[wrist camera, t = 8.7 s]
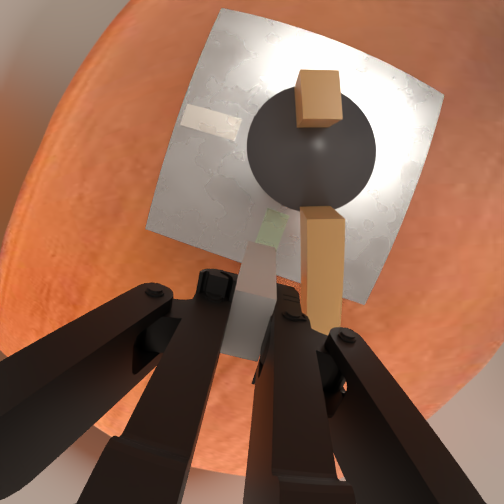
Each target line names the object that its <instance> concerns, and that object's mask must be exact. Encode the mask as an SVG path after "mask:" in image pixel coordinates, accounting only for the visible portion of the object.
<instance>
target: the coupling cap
mask: <svg viewBox="0 0 504 504" xmlns="http://www.w3.org/2000/svg"><path fill="white" fill-rule="evenodd" d="M247 156H248V161H249V165H250V168H251V171H252V173H253V175H254V177H255V179H256V181H257V182H258V184H259V185H260V186H261V188H262V189H263V190H264V191H265V192H266V193H267V194H268V195H269V196H270V197H271V198H272V199H274V200H275V201H276V202H278V203H280V204H281V205H283V206H285V207H288V208H290V209H293V210H296V211H300V238H301V310H302V313H304V314H305V315H306V316H308V318H309V320H310V324H311V328H312V329H314V330H316V331H318V332H320V333H323V334H325V335H328V334H329V332H330V330H331V329H332V328H334V327H340V324H341V311H342V296H343V277H344V252H345V218H344V217H343V216H341V215H340V214H339V213H338V212H337V211H336V210H335V209H337V208H340V207H342V206H344V205H346V204H347V203H349V202H350V201H352V200H353V199H354V198H355V197H357V196H358V195H359V194H360V193H361V191H362V190H363V189H364V188H365V186H366V185H367V183H368V181H369V180H370V177H371V175H372V173H373V170H374V166H375V161H376V140H375V136H374V132H373V129H372V127H371V124H370V122H369V120H368V118H367V117H366V115H365V114H364V112H363V111H362V110H361V109H360V107H359V106H358V105H357V104H356V103H355V102H354V101H352V100H351V99H350V98H349V97H347V96H346V95H344V94H342V93H341V88H340V77H339V70H315V69H300V71H299V74H298V77H297V81H296V84H295V86H294V87H291V88H288V89H285V90H283V91H281V92H279V93H277V94H275V95H274V96H272V97H271V98H270V99H268V100H267V101H266V102H265V103H264V104H263V105H262V106H261V108H260V109H259V110H258V112H257V113H256V115H255V116H254V118H253V120H252V123H251V125H250V128H249V132H248V137H247Z"/></svg>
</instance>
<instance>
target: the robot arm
mask: <svg viewBox="0 0 504 504" xmlns="http://www.w3.org/2000/svg"><path fill="white" fill-rule="evenodd" d="M220 353H223V354H227V355H231V356H235V357H239V358H244V359H248V360H252V361H257V362H258V358H259V355H260V359H259V363H258V366H257V369H256V372H255V375H254V378H253V381H252V384H255V390H254V400H253V410H252V421H251V431H250V441H249V451H248V460H247V470H246V479H245V489H244V498H243V504H486V503H485V502H484V500H483V499H482V497H481V496H480V495H479V493H478V491H477V490H476V489H475V487H474V486H473V484H472V483H471V481H470V480H469V479H468V477H467V476H466V474H465V473H464V472H463V470H462V469H461V467H460V466H459V465H458V463H457V462H456V461H455V459H454V458H453V456H452V455H451V454H450V452H449V451H448V450H447V448H446V447H445V445H444V444H443V443H442V442H441V440H440V439H439V437H438V436H437V434H436V433H435V432H434V431H433V429H432V428H431V427H430V425H429V424H428V422H427V421H426V420H425V418H424V417H423V416H422V414H421V413H420V412H419V410H418V409H417V408H416V406H415V405H414V404H413V403H412V401H411V400H410V399H409V397H408V396H407V395H406V393H405V392H404V391H403V389H402V388H401V387H400V386H399V384H398V383H397V382H396V380H395V379H394V378H393V376H392V375H391V374H390V373H389V371H388V370H387V369H386V367H385V366H384V365H383V364H382V362H381V361H380V360H379V359H378V357H377V356H376V355H375V353H374V352H373V351H372V350H371V348H370V347H369V346H368V345H367V343H366V342H365V341H364V340H363V338H362V337H361V336H360V335H359V334H357V333H356V332H354V331H353V330H351V329H348V328H342V327H334V328H332V329H331V330H330V332H329V334H328V335H325V334H323V333H320V332H318V331H316V330H314V329H312V328H311V324H310V320H309V318H308V316H306V315H305V314H304V313H302V310H301V304H300V299H299V293H298V292H297V291H296V290H295V288H294V287H290V286H286V285H282V284H278V283H276V248H275V247H271V246H267V245H263V244H259V243H255V242H251V241H248V244H247V247H246V251H245V254H244V257H243V261H242V264H241V268H240V271H239V275H238V274H234V273H230V272H226V271H223V270H218V269H204V270H202V271H200V274H199V279H198V284H197V290H196V294H195V295H194V297H193V299H189V300H179V299H173V292H172V290H171V289H170V288H168V287H166V286H164V285H161V284H159V283H144V284H141V285H139V286H137V287H135V288H133V289H131V290H129V291H127V292H125V293H123V294H122V295H120V296H118V297H116V298H114V299H112V300H110V301H109V302H107V303H105V304H103V305H101V306H99V307H97V308H96V309H94V310H92V311H90V312H88V313H86V314H85V315H83V316H81V317H79V318H77V319H75V320H74V321H72V322H70V323H68V324H66V325H64V326H63V327H61V328H59V329H57V330H55V331H54V332H52V333H50V334H48V335H46V336H45V337H43V338H41V339H39V340H38V341H36V342H34V343H32V344H30V345H29V346H27V347H25V348H23V349H22V350H20V351H18V352H16V353H14V354H13V355H11V356H9V357H7V358H6V359H4V360H3V361H1V362H0V500H2V499H5V498H6V497H8V496H10V495H12V494H13V493H15V492H17V491H19V490H20V489H22V488H23V487H24V486H25V485H27V484H28V483H29V482H31V481H32V480H33V479H34V478H35V477H36V476H37V475H39V473H41V472H42V471H43V470H44V469H45V468H46V467H47V466H49V465H50V464H51V463H52V462H53V461H54V460H55V459H56V458H57V457H59V456H60V455H61V454H62V453H63V452H64V451H65V450H66V449H67V448H68V447H69V446H70V445H72V444H73V443H74V442H75V441H76V440H77V439H78V438H79V437H80V436H82V435H83V434H84V433H85V432H86V431H87V430H88V429H89V428H90V427H91V426H92V425H94V424H95V423H96V422H97V421H98V420H99V419H100V418H101V417H102V416H103V415H104V414H105V413H107V412H108V411H109V410H110V409H111V408H112V407H113V406H114V405H115V404H116V403H117V402H118V401H119V400H120V399H122V398H123V397H124V396H125V395H126V394H127V393H128V392H129V391H130V390H131V389H132V388H133V387H134V386H135V385H137V384H138V383H139V382H140V381H141V380H142V379H143V378H144V377H145V376H146V375H147V374H148V373H149V372H150V371H151V370H152V369H154V368H155V367H156V366H157V367H156V369H155V371H154V372H153V374H152V376H151V378H150V380H149V382H148V384H147V386H146V388H145V390H144V392H143V394H142V396H141V398H140V400H139V402H138V404H137V406H136V408H135V410H134V412H133V413H132V415H131V417H130V419H129V421H128V423H127V425H126V427H125V429H124V431H123V433H122V435H121V436H120V437H117V436H113V437H112V438H110V440H109V442H108V443H107V445H106V447H105V448H104V450H103V452H102V454H101V456H100V458H99V460H98V462H97V464H96V465H95V468H94V469H93V471H92V473H91V475H90V477H89V479H88V482H87V483H86V485H85V487H84V489H83V491H82V493H81V495H80V497H79V499H78V501H77V503H76V504H181V502H182V498H183V494H184V490H185V486H186V482H187V478H188V474H189V471H190V467H191V463H192V459H193V455H194V451H195V447H196V443H197V439H198V436H199V432H200V428H201V424H202V420H203V416H204V412H205V409H206V405H207V401H208V397H209V393H210V389H211V386H212V382H213V378H214V374H215V370H216V366H217V363H218V359H219V354H220ZM345 382H347V391H345V389H344V387H343V385H344V384H345ZM333 453H334V454H333ZM334 455H335V457H336V459H337V462H338V464H339V466H340V468H341V471H342V473H343V475H344V477H345V479H346V481H339V479H338V478H337V474H336V468H335V461H334Z"/></svg>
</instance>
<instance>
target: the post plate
mask: <svg viewBox="0 0 504 504" xmlns="http://www.w3.org/2000/svg"><path fill="white" fill-rule="evenodd" d="M300 69H315V70H339V77H340V88H341V93H342V94H344V95H346V96H347V97H349V98H350V99H351V100H352V101H354V102H355V103H356V104H357V105H358V106H359V107H360V109H361V110H362V111H363V112H364V114H365V115H366V117H367V118H368V120H369V122H370V124H371V127H372V129H373V132H374V136H375V140H376V161H375V166H374V170H373V173H372V175H371V177H370V180H369V181H368V183H367V185H366V186H365V188H364V189H363V190H362V191H361V193H360V194H359V195H358V196H357V197H355V198H354V199H353V200H352V201H350V202H349V203H347V204H346V205H344V206H342V207H340V208H337V209H335V210H336V211H337V212H338V213H339V214H340V215H341V216H343V217H344V218H345V252H344V277H343V296H342V298H345V299H348V300H351V301H354V302H357V303H360V304H363V305H365V303H366V301H367V299H368V297H369V295H370V293H371V291H372V289H373V287H374V285H375V283H376V280H377V278H378V276H379V274H380V272H381V270H382V268H383V265H384V263H385V261H386V259H387V257H388V254H389V252H390V250H391V248H392V245H393V243H394V241H395V238H396V236H397V234H398V231H399V229H400V226H401V224H402V221H403V219H404V216H405V214H406V211H407V209H408V206H409V204H410V201H411V198H412V196H413V193H414V190H415V188H416V185H417V182H418V179H419V177H420V174H421V171H422V168H423V165H424V162H425V159H426V156H427V153H428V150H429V147H430V144H431V140H432V137H433V134H434V131H435V127H436V124H437V120H438V117H439V113H440V110H441V106H442V102H443V98H444V95H443V94H442V93H440V92H439V91H437V90H435V89H434V88H432V87H430V86H429V85H427V84H425V83H423V82H422V81H420V80H418V79H416V78H414V77H413V76H411V75H409V74H407V73H405V72H403V71H401V70H399V69H397V68H396V67H394V66H392V65H390V64H387V63H385V62H383V61H381V60H379V59H377V58H375V57H373V56H371V55H368V54H366V53H364V52H362V51H359V50H357V49H355V48H352V47H350V46H347V45H345V44H343V43H340V42H337V41H335V40H332V39H330V38H327V37H324V36H322V35H319V34H316V33H313V32H310V31H307V30H304V29H301V28H298V27H295V26H292V25H288V24H285V23H282V22H278V21H275V20H271V19H267V18H264V17H260V16H256V15H252V14H247V13H243V12H238V11H234V10H229V9H224V8H221V10H220V12H219V14H218V17H217V19H216V21H215V23H214V25H213V28H212V30H211V32H210V35H209V37H208V39H207V42H206V44H205V46H204V49H203V51H202V54H201V56H200V58H199V61H198V63H197V66H196V69H195V71H194V74H193V76H192V79H191V82H190V84H189V87H188V90H187V92H186V95H185V98H184V101H183V103H182V106H181V109H180V112H179V115H178V118H177V121H176V124H175V127H174V130H173V133H172V136H171V139H170V142H169V145H168V148H167V152H166V155H165V158H164V162H163V165H162V168H161V172H160V175H159V179H158V182H157V186H156V189H155V193H154V197H153V201H152V204H151V208H150V212H149V216H148V220H147V224H146V228H145V229H147V230H150V231H152V232H155V233H158V234H161V235H164V236H166V237H169V238H172V239H175V240H178V241H180V242H183V243H186V244H189V245H192V246H194V247H197V248H200V249H203V250H206V251H209V252H211V253H214V254H217V255H220V256H223V257H226V258H229V259H231V260H234V261H237V262H240V263H242V261H243V257H244V254H245V251H246V247H247V244H248V241H251V242H255V243H259V244H263V245H267V246H271V247H275V248H276V275H278V276H281V277H283V278H286V279H289V280H292V281H295V282H298V283H301V238H300V211H296V210H293V209H290V208H288V207H285V206H283V205H281V204H280V203H278V202H276V201H275V200H274V199H272V198H271V197H270V196H269V195H268V194H267V193H266V192H265V191H264V190H263V189H262V188H261V186H260V185H259V184H258V182H257V181H256V179H255V177H254V175H253V173H252V171H251V168H250V165H249V161H248V156H247V137H248V132H249V128H250V125H251V123H252V120H253V118H254V116H255V115H256V113H257V112H258V110H259V109H260V108H261V106H262V105H263V104H264V103H265V102H266V101H267V100H268V99H270V98H271V97H272V96H274V95H275V94H277V93H279V92H281V91H283V90H285V89H288V88H291V87H294V86H295V84H296V81H297V77H298V74H299V71H300Z"/></svg>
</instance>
